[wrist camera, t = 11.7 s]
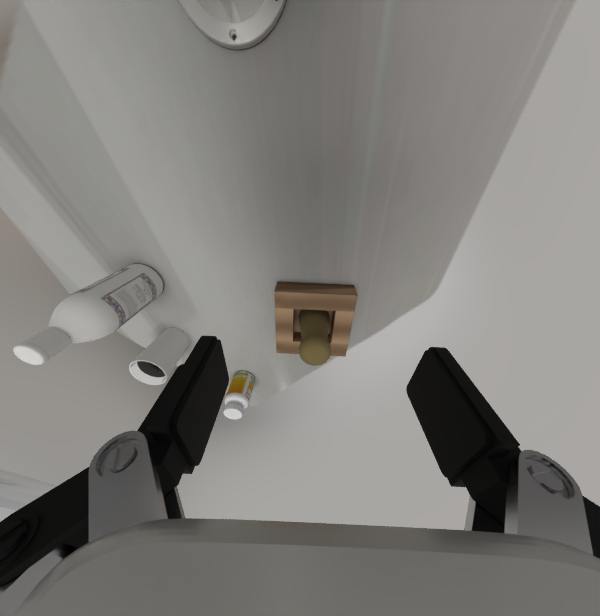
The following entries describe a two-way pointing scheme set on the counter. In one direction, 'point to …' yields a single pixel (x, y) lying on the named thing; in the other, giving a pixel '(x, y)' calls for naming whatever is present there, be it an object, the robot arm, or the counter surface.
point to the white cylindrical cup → (160, 357)
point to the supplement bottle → (238, 394)
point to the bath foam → (93, 312)
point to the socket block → (313, 298)
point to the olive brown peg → (314, 336)
